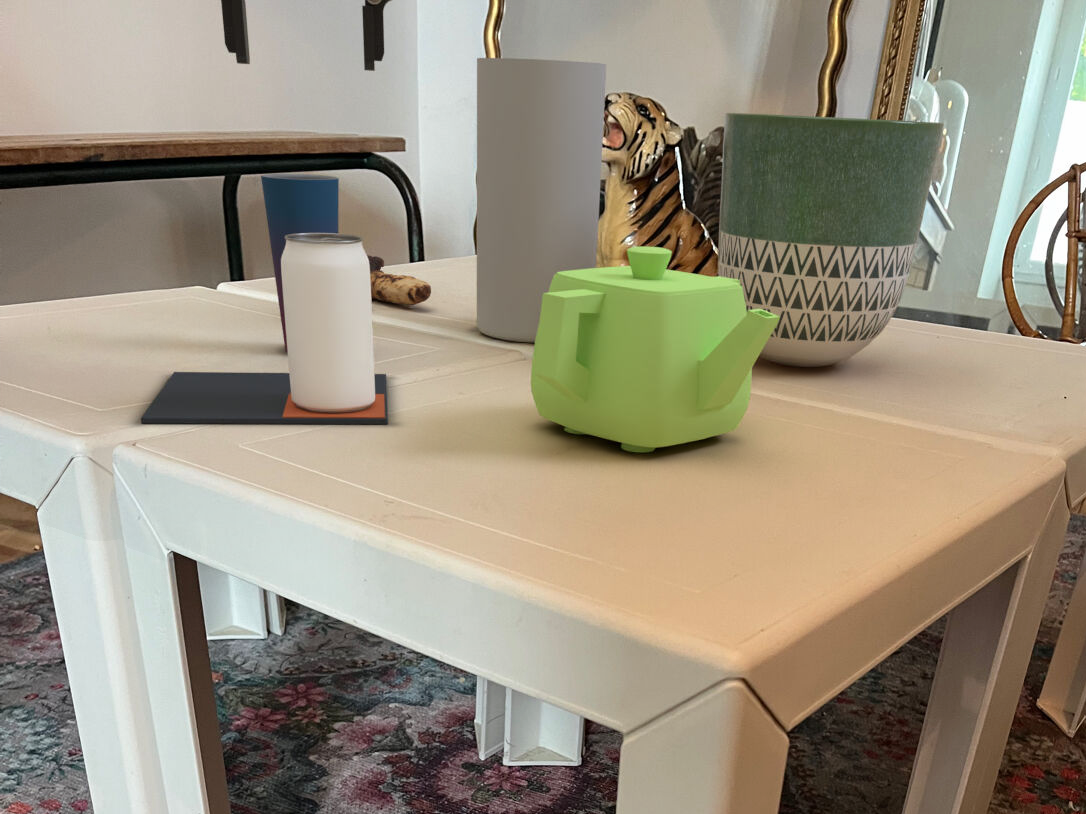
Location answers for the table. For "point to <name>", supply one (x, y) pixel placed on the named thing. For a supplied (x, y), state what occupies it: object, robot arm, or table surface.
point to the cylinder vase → (534, 184)
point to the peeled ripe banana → (396, 285)
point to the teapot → (646, 352)
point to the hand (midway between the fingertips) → (306, 67)
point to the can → (328, 322)
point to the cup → (297, 214)
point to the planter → (823, 225)
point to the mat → (248, 401)
